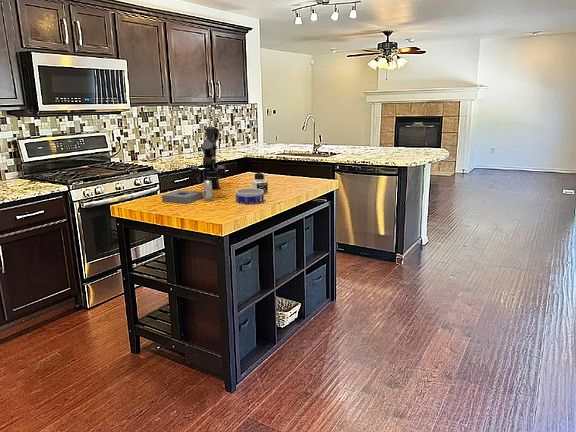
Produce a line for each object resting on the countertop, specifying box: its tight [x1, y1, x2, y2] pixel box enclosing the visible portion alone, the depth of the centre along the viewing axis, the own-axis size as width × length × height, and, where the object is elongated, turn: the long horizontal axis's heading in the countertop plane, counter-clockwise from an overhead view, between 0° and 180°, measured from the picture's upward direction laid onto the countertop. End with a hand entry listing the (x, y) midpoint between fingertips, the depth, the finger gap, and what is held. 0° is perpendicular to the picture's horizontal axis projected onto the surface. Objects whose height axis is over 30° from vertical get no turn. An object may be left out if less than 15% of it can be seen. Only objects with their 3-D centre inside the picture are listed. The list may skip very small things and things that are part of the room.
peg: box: [203, 179, 214, 202], centre depth 243 cm, size 4×4×11 cm
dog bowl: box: [235, 187, 265, 205], centre depth 242 cm, size 15×15×6 cm
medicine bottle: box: [251, 172, 269, 195], centre depth 262 cm, size 7×7×12 cm
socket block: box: [161, 189, 204, 205], centre depth 246 cm, size 16×16×4 cm
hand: (208, 182), depth 244 cm, fingers open, 9 cm apart
